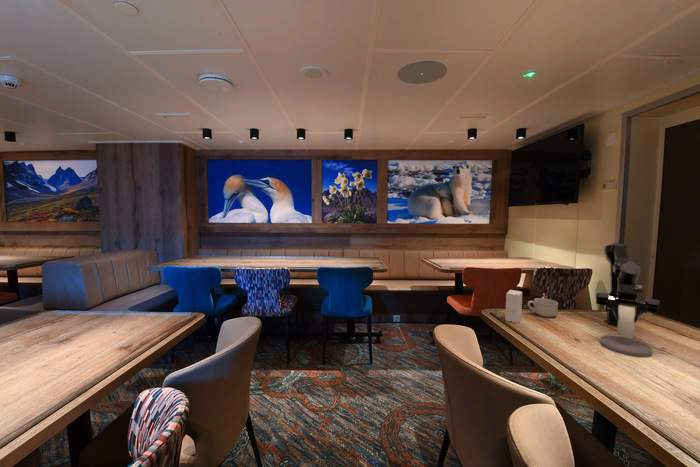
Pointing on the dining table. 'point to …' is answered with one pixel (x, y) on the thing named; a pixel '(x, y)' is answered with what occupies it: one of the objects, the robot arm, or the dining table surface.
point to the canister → (626, 321)
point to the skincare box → (513, 306)
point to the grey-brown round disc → (626, 346)
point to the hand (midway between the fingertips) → (626, 320)
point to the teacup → (544, 307)
